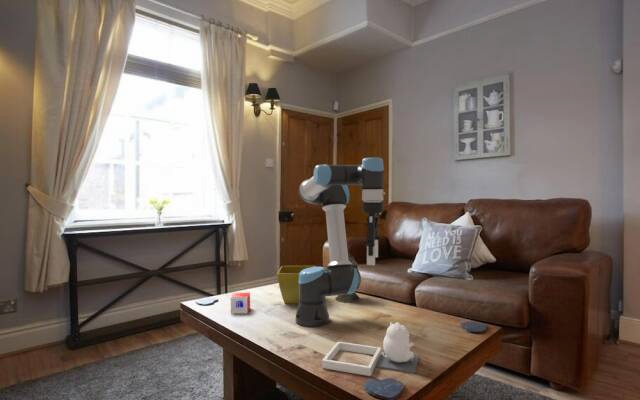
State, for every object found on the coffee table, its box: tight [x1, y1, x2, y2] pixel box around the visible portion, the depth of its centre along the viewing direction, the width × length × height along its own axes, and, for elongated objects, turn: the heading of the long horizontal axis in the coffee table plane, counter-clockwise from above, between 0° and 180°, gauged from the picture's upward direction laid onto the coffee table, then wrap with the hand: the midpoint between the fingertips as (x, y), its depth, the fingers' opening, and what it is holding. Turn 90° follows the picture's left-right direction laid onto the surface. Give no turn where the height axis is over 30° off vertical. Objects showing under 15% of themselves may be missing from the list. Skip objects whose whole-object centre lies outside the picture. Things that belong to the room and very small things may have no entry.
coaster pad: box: [375, 351, 420, 375], centre depth 120 cm, size 12×12×1 cm
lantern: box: [334, 252, 362, 304], centre depth 195 cm, size 14×14×25 cm
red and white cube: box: [230, 292, 251, 314], centre depth 178 cm, size 8×8×8 cm
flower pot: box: [276, 265, 316, 304], centre depth 194 cm, size 19×19×17 cm
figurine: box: [381, 321, 415, 363], centre depth 120 cm, size 10×10×12 cm
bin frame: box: [321, 341, 382, 377], centre depth 121 cm, size 16×16×2 cm
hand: (372, 260), depth 129 cm, fingers open, 13 cm apart
